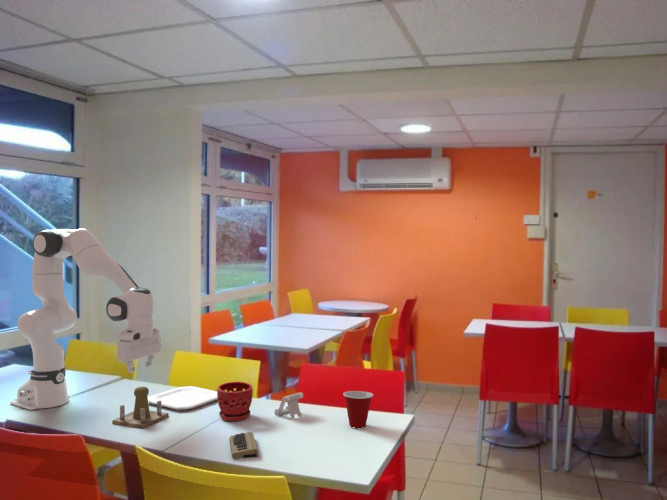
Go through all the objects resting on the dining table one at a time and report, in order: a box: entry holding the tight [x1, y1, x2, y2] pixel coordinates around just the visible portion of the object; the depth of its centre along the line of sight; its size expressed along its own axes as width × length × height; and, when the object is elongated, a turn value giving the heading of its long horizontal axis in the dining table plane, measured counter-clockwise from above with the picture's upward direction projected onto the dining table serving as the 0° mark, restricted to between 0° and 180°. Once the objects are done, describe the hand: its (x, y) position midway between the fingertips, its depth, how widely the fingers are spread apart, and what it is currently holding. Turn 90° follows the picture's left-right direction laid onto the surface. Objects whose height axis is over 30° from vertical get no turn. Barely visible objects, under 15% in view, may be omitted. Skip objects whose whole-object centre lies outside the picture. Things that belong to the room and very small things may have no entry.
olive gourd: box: [133, 386, 151, 420], centre depth 207 cm, size 6×6×11 cm
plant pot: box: [216, 381, 254, 422], centre depth 211 cm, size 13×13×12 cm
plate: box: [147, 385, 218, 411], centre depth 232 cm, size 25×25×2 cm
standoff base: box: [112, 401, 170, 429], centre depth 208 cm, size 14×14×6 cm
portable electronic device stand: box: [274, 391, 304, 419], centre depth 214 cm, size 9×8×8 cm
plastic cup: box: [343, 390, 374, 429], centre depth 202 cm, size 11×11×12 cm
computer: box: [229, 431, 259, 460], centre depth 181 cm, size 16×8×3 cm, turn 14°
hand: (140, 369), depth 207 cm, fingers open, 8 cm apart
